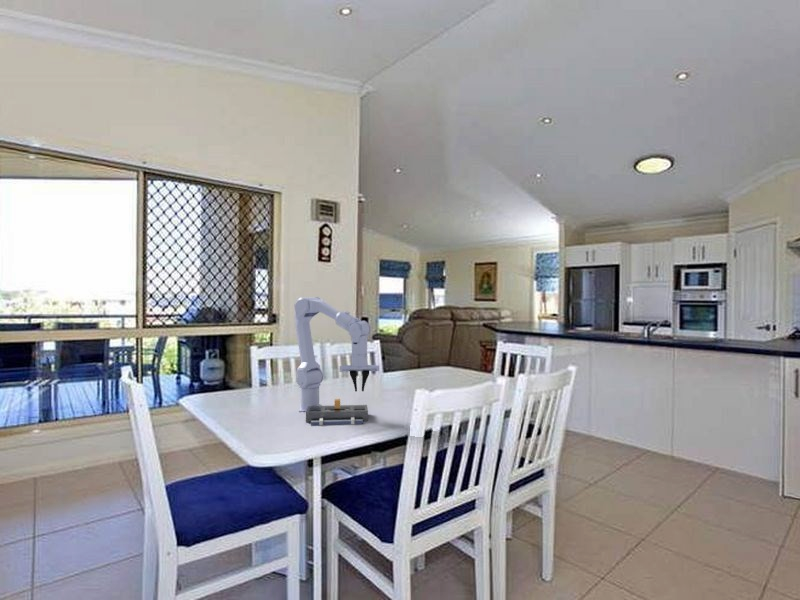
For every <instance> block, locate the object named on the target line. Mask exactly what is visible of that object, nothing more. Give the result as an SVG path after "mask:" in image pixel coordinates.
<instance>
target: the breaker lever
mask: <svg viewBox="0 0 800 600" xmlns="http://www.w3.org/2000/svg"><path fill="white" fill-rule="evenodd" d="M340 405H341V398H334V406H335V409H340Z"/></svg>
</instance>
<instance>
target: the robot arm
mask: <svg viewBox="0 0 800 600" xmlns="http://www.w3.org/2000/svg"><path fill="white" fill-rule="evenodd" d="M294 312H295V314H294V325H295V330H296V331H295V332H296V337H297V344H298V345H297V346H298V350H299V358H300V365H298V367H297V369H296V383H297V386H298V387H299V388H300V407H299V409H298V412H299V413H300V412H301V413H303V412H305V413H306V411H307V408H308V406H322V404H321V403H320V387H321V383H323V381H324V373H323V371H322V368H321V365H320V364H319V363H318V362H317V361H316V357H315V352H314V351H315V350H314V345H313V344H314V343H313V339H312V332H311V330H312V329H311V325H310V322H311V320H312V319H313V318H314V317H316V315H318V314H319V313H322V314H324V315H326V316H328V318H331V319H333V321H335V324H336V325H337V326H338V327H340V328H342V329H344V331H347V332H348V335H349V336H350V341H351V365H350V364H348V365H346V364H345V365H339V369H338V370H339V372H340V373H343V372H349V375H350V377H351V380H352V383H353V386H354V392H358V388H357V387H358V384H357V383H358V382H357V375H358V374H357V372H361V374H362V375H361V378H362V379H361V381H362V382H361V392H365V385H366V383H367V380H368V377H369V376H370V372H380V365H379V364H378V365H377V364H368V335H370V333H371V325H370V324H369V322H367V320H360V318H359V317H355V316H353V315H351V314H350V312H349V311H348V310H347V311H343V310H342V311H339V310H337V309H336V308H335V307H333V306H332V305H330V304H329V303H327V302H326V301H325V299H322V298H321V297H318V296H317V297H316V296H315V297H299V298H298V299H297V300H296V302H295V303H294Z"/></svg>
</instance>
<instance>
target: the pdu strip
mask: <svg viewBox="0 0 800 600" xmlns="http://www.w3.org/2000/svg"><path fill="white" fill-rule="evenodd" d="M351 417H354V419H363V422H368V421H369V410H368V404H346V405H341V404H340V409H335V405H321V406H308V408H307V411H306V412H305V423H311V420H319V419H320V418H323V420H327V419H351Z"/></svg>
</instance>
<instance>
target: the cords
mask: <svg viewBox="0 0 800 600" xmlns="http://www.w3.org/2000/svg"><path fill="white" fill-rule="evenodd" d="M363 422H364V421H363V419H354V417H351V419H327V420H323V418H320V419H319V420H311V422H310V426H327V425H328V426H329V425H331V426H332V425H361V424H364V423H363Z"/></svg>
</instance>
